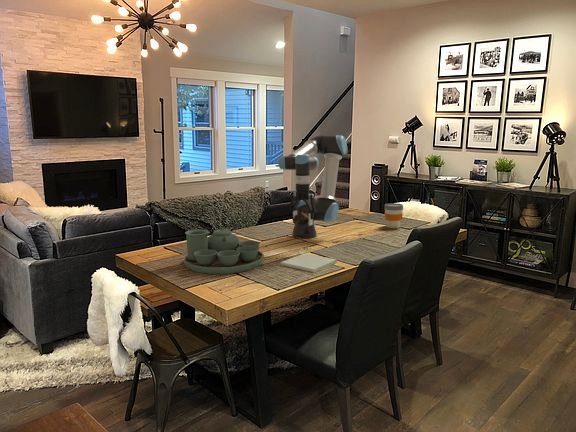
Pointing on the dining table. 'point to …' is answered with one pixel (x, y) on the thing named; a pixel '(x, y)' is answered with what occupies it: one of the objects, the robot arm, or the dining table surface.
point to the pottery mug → (301, 216)
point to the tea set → (220, 252)
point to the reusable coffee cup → (393, 215)
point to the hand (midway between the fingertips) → (302, 223)
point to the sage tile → (309, 262)
